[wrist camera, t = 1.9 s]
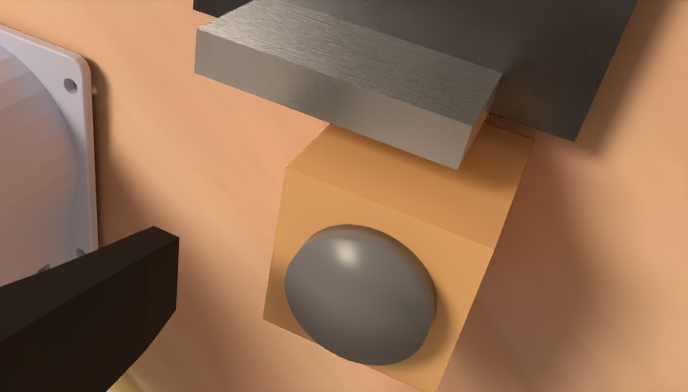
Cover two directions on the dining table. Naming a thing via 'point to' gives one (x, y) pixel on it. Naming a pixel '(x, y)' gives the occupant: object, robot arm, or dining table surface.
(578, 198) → the dining table surface
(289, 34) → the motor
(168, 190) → the dining table surface
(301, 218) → the orange block with dome
